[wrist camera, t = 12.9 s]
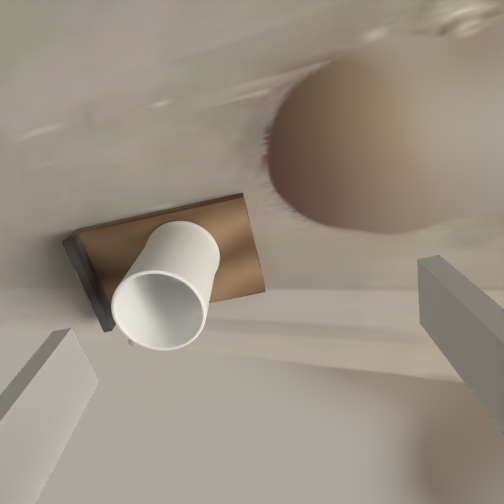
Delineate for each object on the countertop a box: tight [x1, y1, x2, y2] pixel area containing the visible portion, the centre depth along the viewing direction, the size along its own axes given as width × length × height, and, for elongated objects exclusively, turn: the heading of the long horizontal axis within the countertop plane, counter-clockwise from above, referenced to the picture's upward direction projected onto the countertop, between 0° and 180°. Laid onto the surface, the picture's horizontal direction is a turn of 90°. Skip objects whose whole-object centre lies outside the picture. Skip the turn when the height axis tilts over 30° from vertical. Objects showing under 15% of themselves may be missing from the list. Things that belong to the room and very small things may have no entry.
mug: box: [111, 221, 220, 351], centre depth 37 cm, size 12×8×12 cm
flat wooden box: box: [62, 193, 265, 332], centre depth 42 cm, size 12×20×4 cm, turn 103°
